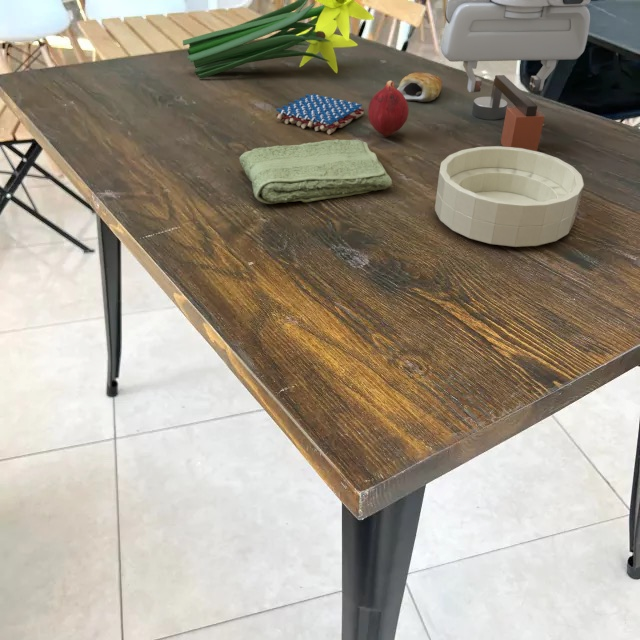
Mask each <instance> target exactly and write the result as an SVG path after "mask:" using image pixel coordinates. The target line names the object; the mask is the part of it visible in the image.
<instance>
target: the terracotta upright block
mask: <svg viewBox="0 0 640 640" xmlns="http://www.w3.org/2000/svg"><path fill="white" fill-rule="evenodd" d="M503 122H504V123H503V127H502V132H501V138H500V145H501V147H513V148H522V149H527V150H532V151H537V152H538V149H539V146H540V145H539V144H540V140H541V136H542V131H543V127H544V123H545V115H544V114H543V113H542V112H541V111H540V110H539V109H538V108H537V112H536V116H525V115H524V114H523V113H522V112H521V111H520V110H519V109H518V108H517V107H516V106H507V109H506V114H505V117H504V121H503Z"/></svg>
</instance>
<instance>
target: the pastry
mask: <svg viewBox="0 0 640 640" xmlns="http://www.w3.org/2000/svg"><path fill="white" fill-rule="evenodd" d="M442 86H443V81H442V79H441V77H440V76H437V75H434V74H431V73H430V72H419V71H417V72H416V71H415V72H413V73H408V75H405V76H403V78H401V80H400V82H399V85H398V87H397V88H396V89H397V90H399V91H400V92H401V93H402V94H403V96H404V97H405V99H406V101H407V102H408V101H409V102H410V101H415V102H416V101H417V102H419V103H420V102H421V103H423V102H427V103H429V102H432V101H434V100H435V99H436V98H438V97H439V96H440V93H441V91H442Z"/></svg>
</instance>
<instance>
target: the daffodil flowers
mask: <svg viewBox="0 0 640 640" xmlns="http://www.w3.org/2000/svg"><path fill="white" fill-rule="evenodd" d="M308 1H309V0H296V1H294V2H291V3H289V4H287V5H284V6H282V7H280V8H278V9H275V10H273V11H271V12H268V13H265V14H263V15H261V16H260V15H259V16H258V17H256V18H252V19H250V20H247V21H245V22H243V23H240V24H236V25H235V26H230V27H227V28H223V29H219V30H215V31H210V32H207V33H205V34H201V35H197V36H194V37H190V38H187V39H183V40H182V45H183V46H187V45H188V49H186V51H187V52H188V55H187V60H189V61H190V63H192V62H193V66H194V67H195V69H196V68H197V69H196V70H194V73H195V75H196V76H198V78H199V79H200V78H202V79H205V78H207V77H211V76H214V75H216V74H220V73H223V72H226V71H229V70H231V69H235V68H237V67H240V66H243V65H245V64H249V63H256V62H261V61H268V60H275V59H282V58H292V57H302V59H301V61H300V63H299V66H298V67H299V68H301V67H303V66H304V65H306V64H307V63H308V62H309V61H311V60H312V59H313V58H316V59H320V60H322V61H325V62H326V64H327V65H328V66H329V67H330V68H331V70H332V71H333V72H334V73H336V74H338V71H339V69H338V62H337V55H336V53H335V49H334V48H352V47H357V46H359V44H358V43H357V42H355V40H353V39H351V38H350V31H351V30H350V28H351V27H350V24H351V23H350V17H352V18H353V19H354V18H355V19H357V20H362V21H372V20H375V17H374V16H373V14H371V13H370V12H369V11H368V10H367V9H366V8H365V7H363V6H362V5H361V4H359V3H358V2H357V1H356V0H314V1H315V2H314V3H312V4H310V5H308V6H307V7H305V6H306V4H307V3H308ZM316 3H318V4H321V5H320V6H316V7H314V6H315V4H316ZM308 19H310V20H309V21H306V22H302V21H304V20H308ZM337 28H338V30H339V32H340V34H336V33H335V32H336V30H337ZM268 35H270V36H268ZM265 36H268V37H266V38H264V39H261V38H263V37H265ZM258 39H261V40H258ZM255 40H257V41H255ZM306 42H307V43H306ZM308 43H310V44H308ZM294 46H308V47H307V49H306V51H299V50H297V49H296V50H295V49H290V48H292V47H294ZM319 53H320V55H321V56H320V55H318V54H319Z"/></svg>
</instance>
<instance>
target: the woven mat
mask: <svg viewBox="0 0 640 640" xmlns="http://www.w3.org/2000/svg"><path fill="white" fill-rule="evenodd" d="M287 103H288V104H287V105H282V108H276V112H278V113H277V114H275V117H276V119H277V120H278V121H283V120H284V124H286V125H287V124H289V123H291V124H293V125H296V126H297V127H301V128H302V129H303V130H304V129H305V128H306V129H307V127H308V128H314V131H315V132H319V131H322V132H326V134H328V135H331V134H332V133H334V132H335V131H336V129H338V128H340V129H341V128H343V127H345V126H347V125H349V124H350V123H352V121H353V120H354V119H355V120H358V119H359V118H360V117H362V116H364V114H365V113H364V111H365V109H364V108H362V107H363V104H362V103H360V104H359V103H357V102H354V101H353V102H351V101H347V100H343V99H340V98H337V99H336V98H333V97H331V96H329V97H328V96H324V95H319V94H316V93H313V94H305V97H303V96H301V97H299V99H294V100H293V102H287Z"/></svg>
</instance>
